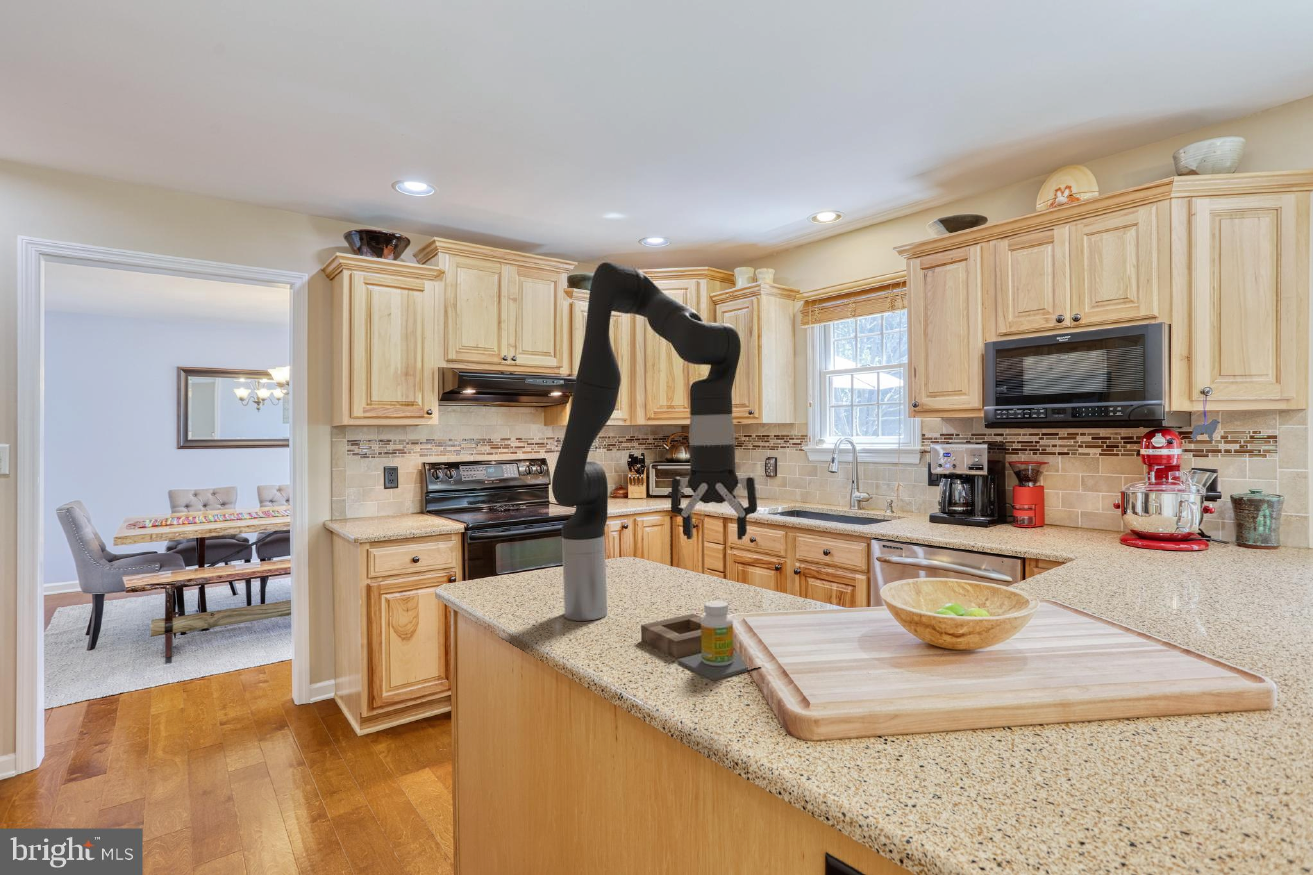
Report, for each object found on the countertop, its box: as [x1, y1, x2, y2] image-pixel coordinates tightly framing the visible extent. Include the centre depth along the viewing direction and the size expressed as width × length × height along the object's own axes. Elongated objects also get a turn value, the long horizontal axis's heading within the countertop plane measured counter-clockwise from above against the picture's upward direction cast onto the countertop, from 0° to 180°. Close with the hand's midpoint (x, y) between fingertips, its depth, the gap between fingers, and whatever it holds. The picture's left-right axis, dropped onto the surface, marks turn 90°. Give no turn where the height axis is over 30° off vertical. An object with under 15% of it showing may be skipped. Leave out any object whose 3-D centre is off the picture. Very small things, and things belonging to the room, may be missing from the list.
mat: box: [677, 651, 748, 682], centre depth 111 cm, size 10×10×1 cm
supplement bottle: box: [701, 600, 735, 666], centre depth 111 cm, size 5×5×10 cm
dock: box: [640, 613, 703, 659], centre depth 123 cm, size 12×12×3 cm
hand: (714, 538), depth 110 cm, fingers open, 8 cm apart
